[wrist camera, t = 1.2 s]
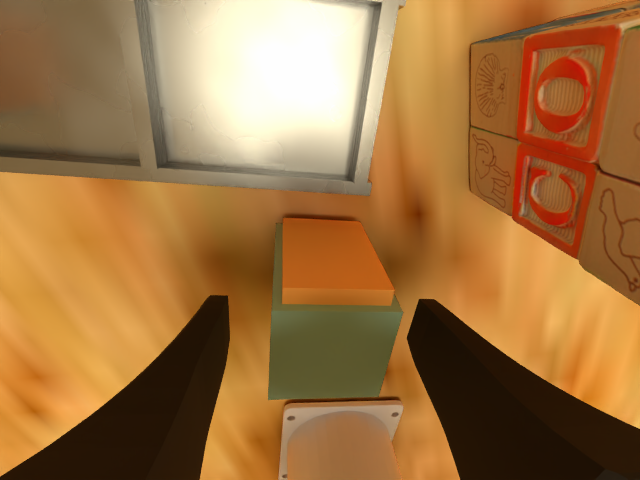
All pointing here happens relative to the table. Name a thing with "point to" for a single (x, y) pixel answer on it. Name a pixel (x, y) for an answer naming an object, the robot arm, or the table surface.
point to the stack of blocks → (565, 136)
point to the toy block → (329, 312)
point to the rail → (195, 90)
